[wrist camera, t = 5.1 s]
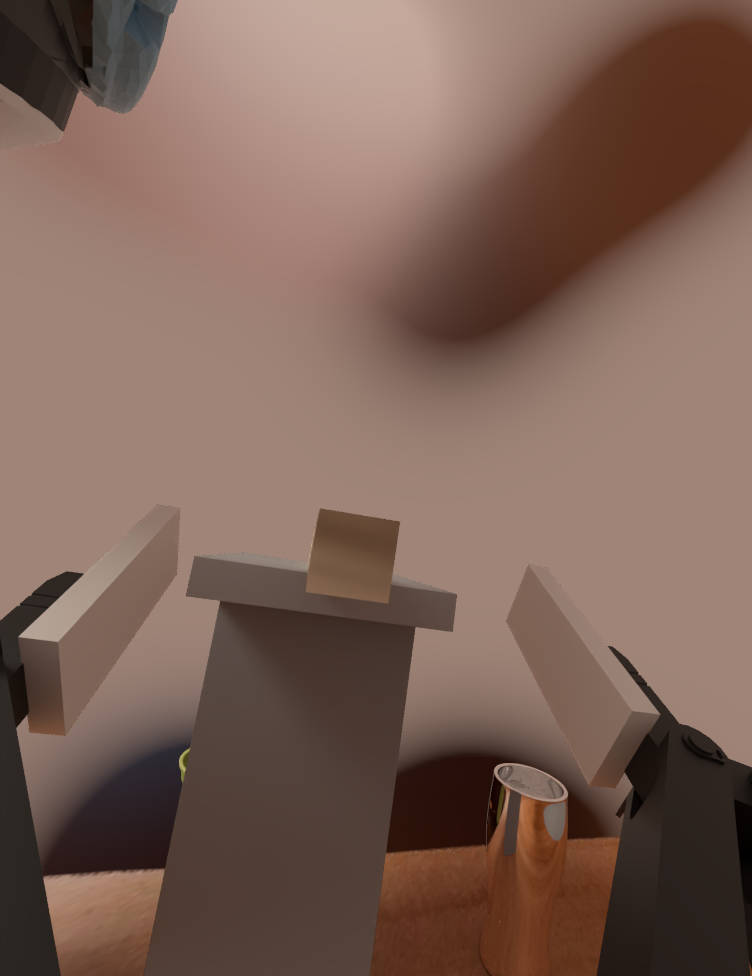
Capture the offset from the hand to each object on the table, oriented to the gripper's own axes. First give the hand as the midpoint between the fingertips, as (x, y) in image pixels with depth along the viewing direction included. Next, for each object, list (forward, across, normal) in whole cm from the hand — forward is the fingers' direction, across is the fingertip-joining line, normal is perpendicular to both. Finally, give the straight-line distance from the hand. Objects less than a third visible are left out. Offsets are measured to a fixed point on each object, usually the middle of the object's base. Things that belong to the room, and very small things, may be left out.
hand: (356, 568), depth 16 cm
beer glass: (+5, +22, -41) cm, 47 cm away
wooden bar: (+8, 0, -6) cm, 10 cm away
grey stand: (-4, 0, -36) cm, 36 cm away
